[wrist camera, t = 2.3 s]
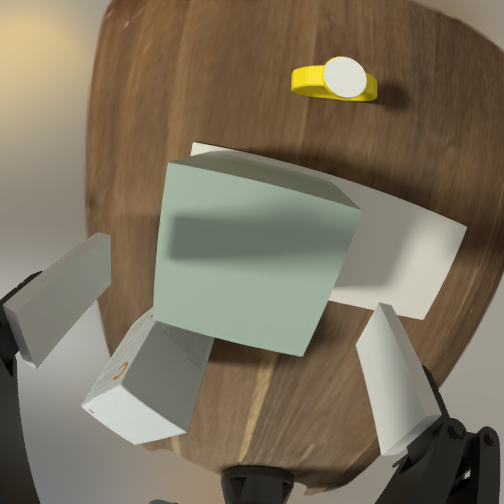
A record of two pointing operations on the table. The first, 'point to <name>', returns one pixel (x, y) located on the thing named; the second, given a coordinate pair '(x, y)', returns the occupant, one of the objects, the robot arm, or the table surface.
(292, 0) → the table surface
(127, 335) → the small box
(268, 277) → the block
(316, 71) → the watch
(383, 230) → the base
